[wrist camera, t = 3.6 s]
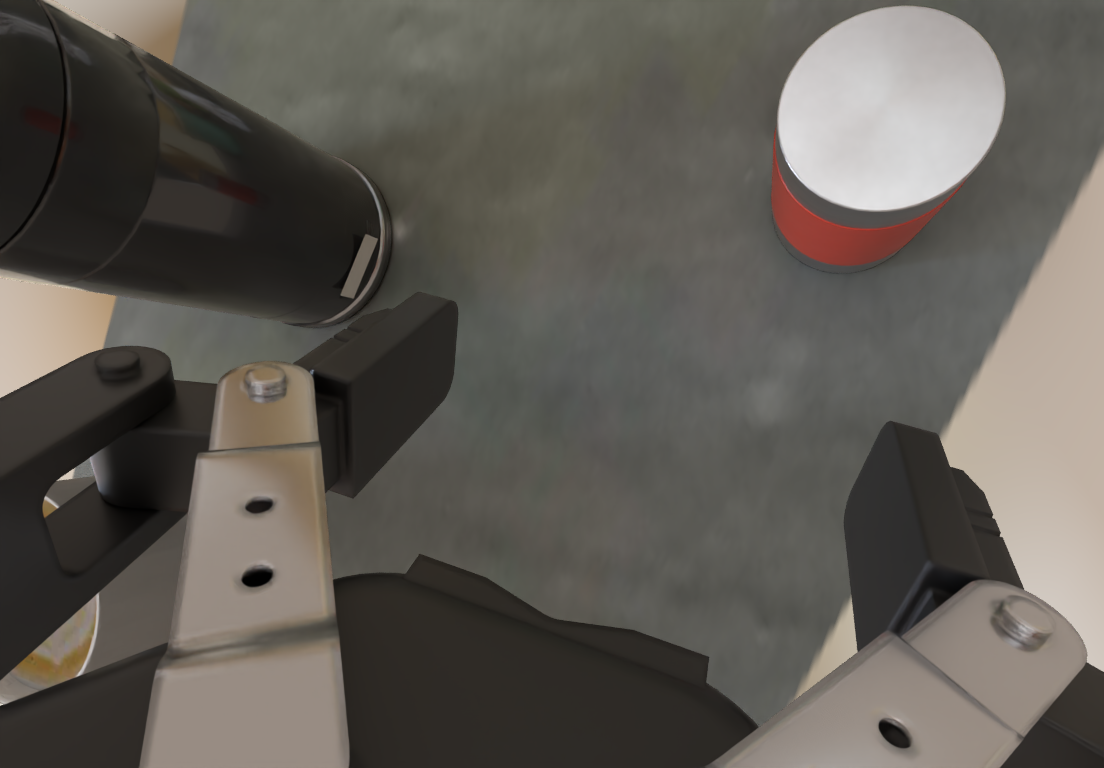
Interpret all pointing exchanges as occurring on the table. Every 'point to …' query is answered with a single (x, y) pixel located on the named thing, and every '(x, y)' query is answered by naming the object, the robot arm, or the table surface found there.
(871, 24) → the can
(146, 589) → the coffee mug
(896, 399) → the table surface
